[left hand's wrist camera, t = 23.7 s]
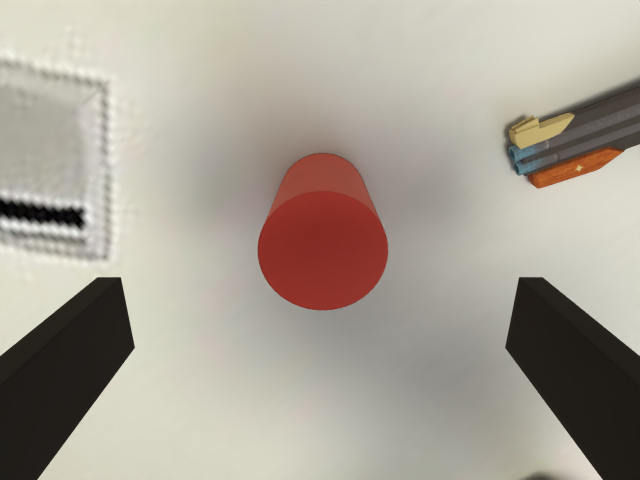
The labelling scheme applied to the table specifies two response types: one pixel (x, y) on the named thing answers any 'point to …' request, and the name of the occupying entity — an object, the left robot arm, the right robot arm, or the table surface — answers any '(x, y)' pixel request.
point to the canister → (322, 236)
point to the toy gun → (576, 140)
